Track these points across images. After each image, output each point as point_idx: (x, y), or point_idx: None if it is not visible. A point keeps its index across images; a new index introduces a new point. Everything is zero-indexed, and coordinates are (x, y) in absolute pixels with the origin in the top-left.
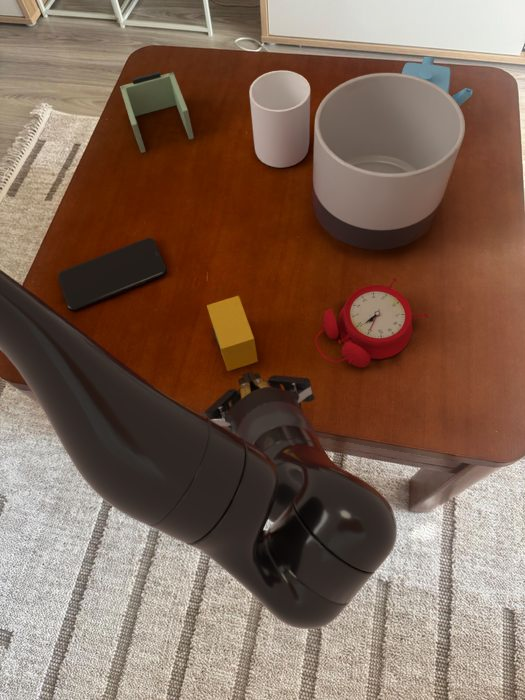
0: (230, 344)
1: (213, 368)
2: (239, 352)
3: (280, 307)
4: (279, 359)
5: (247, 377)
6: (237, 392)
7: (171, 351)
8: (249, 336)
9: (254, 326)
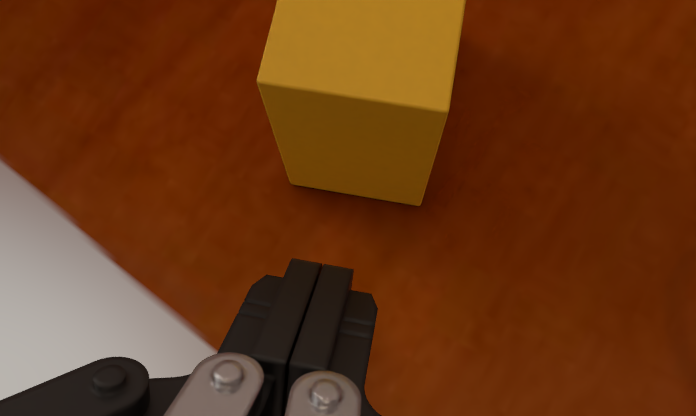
0: (314, 82)
1: (248, 146)
2: (352, 141)
3: (609, 45)
4: (506, 241)
5: (295, 309)
6: (154, 405)
7: (148, 13)
8: (430, 89)
9: (477, 67)
